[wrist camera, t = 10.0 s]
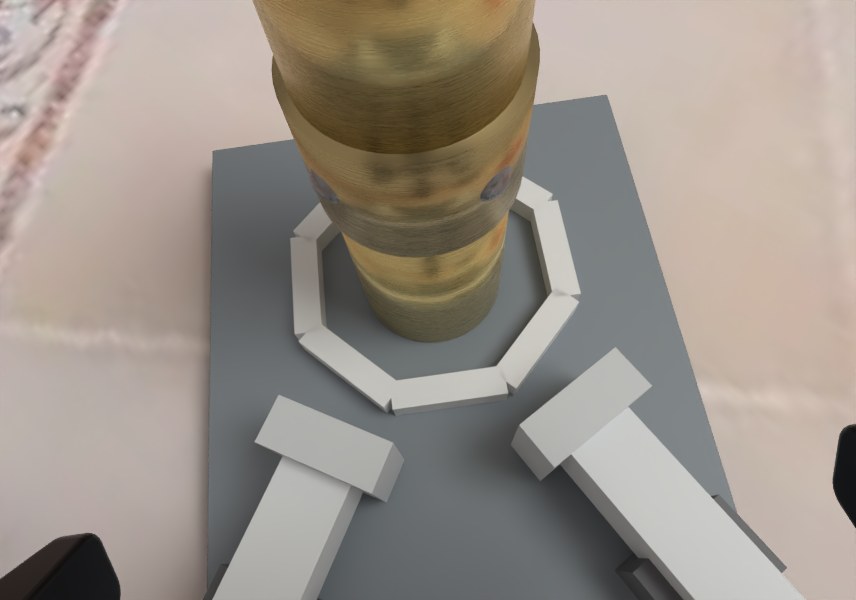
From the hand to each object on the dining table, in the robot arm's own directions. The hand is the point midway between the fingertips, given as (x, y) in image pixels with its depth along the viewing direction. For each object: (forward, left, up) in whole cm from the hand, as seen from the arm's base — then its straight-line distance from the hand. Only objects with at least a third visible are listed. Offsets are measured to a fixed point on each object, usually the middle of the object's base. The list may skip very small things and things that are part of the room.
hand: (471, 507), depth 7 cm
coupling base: (+2, -3, -11) cm, 11 cm away
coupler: (+4, -6, -9) cm, 12 cm away
